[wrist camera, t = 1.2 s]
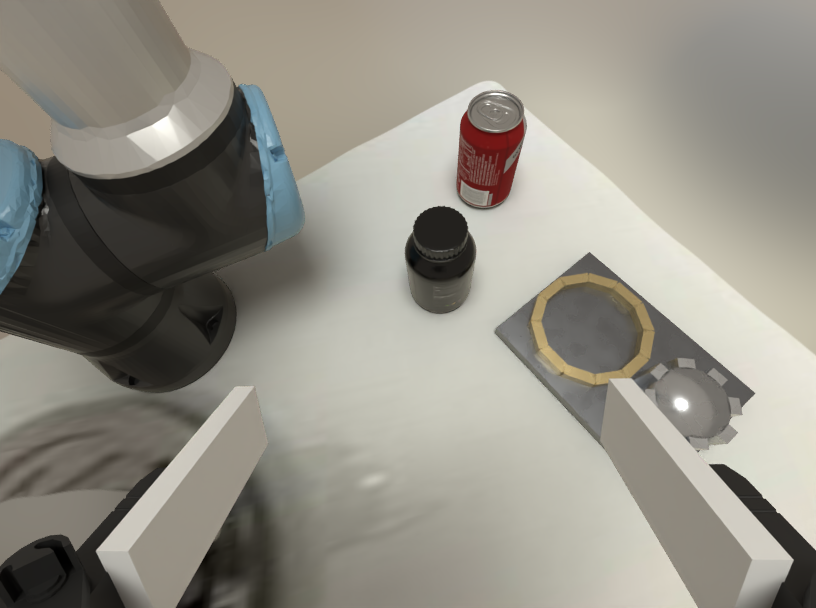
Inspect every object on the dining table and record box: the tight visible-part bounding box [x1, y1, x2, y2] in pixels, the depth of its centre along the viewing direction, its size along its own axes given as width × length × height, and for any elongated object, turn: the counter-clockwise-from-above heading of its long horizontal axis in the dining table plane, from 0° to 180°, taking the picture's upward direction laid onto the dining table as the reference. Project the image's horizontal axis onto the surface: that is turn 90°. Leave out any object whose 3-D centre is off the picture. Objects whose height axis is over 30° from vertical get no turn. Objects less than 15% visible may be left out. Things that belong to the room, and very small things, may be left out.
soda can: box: [456, 90, 527, 208], centre depth 44 cm, size 7×7×12 cm
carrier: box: [495, 252, 755, 452], centre depth 37 cm, size 20×14×5 cm
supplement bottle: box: [405, 206, 476, 313], centre depth 39 cm, size 7×7×12 cm
